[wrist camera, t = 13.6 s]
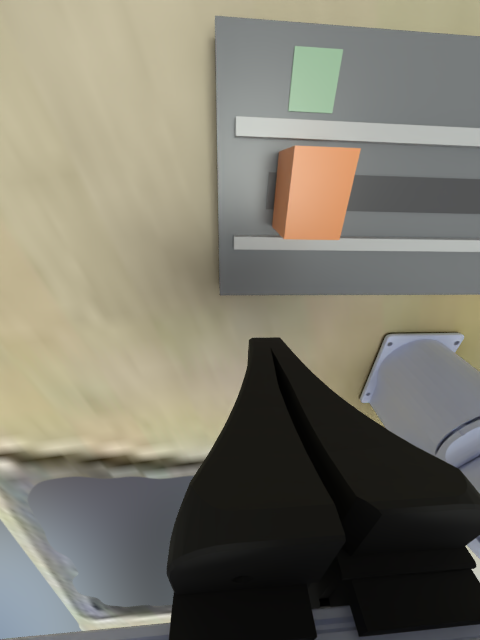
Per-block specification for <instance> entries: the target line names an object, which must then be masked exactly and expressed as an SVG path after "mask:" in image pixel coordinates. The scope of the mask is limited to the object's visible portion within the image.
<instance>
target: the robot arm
mask: <svg viewBox="0 0 480 640" xmlns="http://www.w3.org/2000/svg"><path fill="white" fill-rule="evenodd" d="M463 339H464V335H462V334H461V333H414V334H389V335H387V336H386V337H385V339H384V341H383V343H382V346H381V348H380V351H379V353H378V356H377V358H376V360H375V363H374V365H373V368H372V370H371V373H370V375H369V378H368V380H367V382H366V385H365V387H364V390H363V392H362V395H361V397H360V400H361V402H362V403H370V405H371V406H372V408H373V409H374V411H375V412H376V414H377V415H378V417H379V418H380V420H381V422H382V423H383V425H384V426H385V428H384V427H383V426H381V425H379V424H378V423H376V422H375V421H373V420H372V419H370V418H369V417H367V416H366V415H364V414H363V413H361V412H360V411H358V410H357V409H356V408H354V407H353V406H351V405H350V404H349V403H347V402H346V401H345V400H344V399H342V398H341V397H340V396H339V395H337V394H336V393H335V392H333V391H332V390H331V389H330V388H329V387H327V386H326V385H325V384H324V383H323V382H322V381H321V380H320V379H319V378H317V377H316V376H315V375H314V374H313V373H312V372H311V371H310V370H309V369H308V368H307V367H306V366H305V365H304V364H303V363H302V362H301V361H300V359H299V358H298V357H297V356H296V355H295V354H294V353H293V352H292V351H291V350H290V348H289V347H288V346H287V345H286V344H285V343H284V342H283V341H282V339H281V338H251V339H250V340H249V349H248V366H247V370H246V374H245V377H244V380H243V383H242V387H241V389H240V392H239V395H238V397H237V400H236V402H235V405H234V407H233V409H232V411H231V413H230V415H229V418H228V420H227V422H226V424H225V426H224V428H223V430H222V431H221V433H220V435H219V437H218V438H217V440H216V442H215V444H214V445H213V447H212V449H211V451H210V452H209V454H208V456H207V457H206V459H205V460H204V462H203V463H202V465H201V466H200V468H199V469H198V471H197V472H196V474H195V475H194V477H193V479H192V480H191V482H190V484H189V487H188V489H187V492H186V494H185V497H184V499H183V502H182V504H181V507H180V509H179V512H178V515H177V518H176V521H175V524H174V528H173V532H172V536H171V541H170V547H169V555H168V563H167V576H168V578H169V581H170V583H171V586H172V588H173V590H174V597H173V605H172V614H171V623H163V624H152V625H142V626H132V627H121V628H111V629H101V630H90V631H81V632H70V633H61V634H49V635H39V636H28V637H18V638H8V639H0V640H480V582H479V581H478V579H477V578H476V576H475V574H474V573H473V571H472V570H471V569H474V568H475V567H476V563H475V561H474V559H473V557H472V556H471V554H470V553H469V552H468V550H467V548H466V547H465V546H466V545H467V546H468V547H469V548H470V549H471V550H472V551H473V552H474V553H475V554H476V556H478V558H480V372H479V371H478V370H477V369H475V368H474V367H473V366H471V365H470V364H469V363H467V362H466V361H465V360H464V359H462V358H461V357H460V356H458V355H457V354H456V353H455V352H456V350H457V349H458V347H459V345H460V344H461V342H462V340H463ZM389 342H390V343H389Z"/></svg>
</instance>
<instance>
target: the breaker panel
mask: <svg viewBox="0 0 480 640" xmlns="http://www.w3.org/2000/svg"><path fill="white" fill-rule="evenodd" d="M215 45H216V104H217V163H218V222H219V281H220V295H465V294H480V36H467V35H454V34H442V33H429V32H416V31H403V30H390V29H378V28H365V27H352V26H339V25H326V24H314V23H301V22H288V21H275V20H262V19H250V18H237V17H224V16H215ZM292 146H319V147H344V148H361V150H360V155H359V159H358V163H357V167H356V172H355V176H354V180H353V185H352V189H351V193H350V197H349V202H348V206H347V210H346V214H345V219H344V223H343V227H342V232H341V236H340V240H295V239H283V238H282V237H281V236H280V235H279V234H278V233H277V231H276V230H275V229H274V228H273V227H272V222H273V211H274V200H275V189H276V178H277V167H278V156H279V151H282V150H284V149H287V148H290V147H292Z"/></svg>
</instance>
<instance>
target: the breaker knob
mask: <svg viewBox="0 0 480 640" xmlns="http://www.w3.org/2000/svg"><path fill="white" fill-rule="evenodd" d="M360 150H361V148H344V147H319V146H292V147H290V148H287V149H284V150H282V151H279V156H278V167H277V178H276V189H275V200H274V211H273V222H272V227H273V228H274V229H275V230H276V231H277V233H278V234H279V235H280V236H281V237H282V238H283V239H295V240H340V236H341V232H342V227H343V223H344V219H345V214H346V210H347V206H348V202H349V197H350V193H351V189H352V185H353V180H354V176H355V172H356V167H357V163H358V159H359V155H360Z"/></svg>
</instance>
